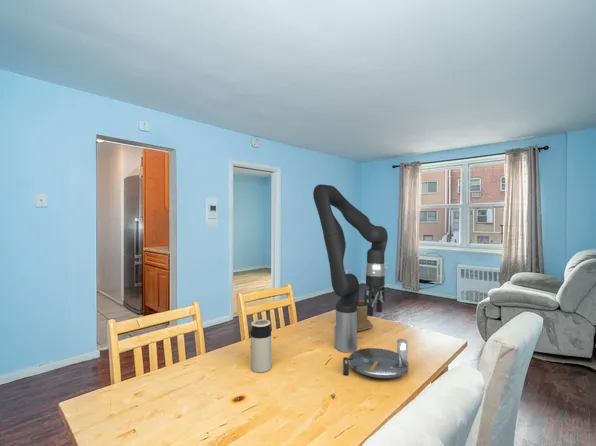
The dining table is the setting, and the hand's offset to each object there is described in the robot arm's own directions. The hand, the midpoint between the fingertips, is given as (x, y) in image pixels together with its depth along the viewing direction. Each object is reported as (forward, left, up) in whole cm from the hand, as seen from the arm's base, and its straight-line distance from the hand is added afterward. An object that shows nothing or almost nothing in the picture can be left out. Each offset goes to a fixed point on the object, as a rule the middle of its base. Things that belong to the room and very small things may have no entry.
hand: (374, 313), depth 130 cm
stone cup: (-26, +24, -19) cm, 41 cm away
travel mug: (-25, -39, -19) cm, 50 cm away
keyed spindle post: (+5, -10, -19) cm, 22 cm away
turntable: (+6, -6, -17) cm, 19 cm away
